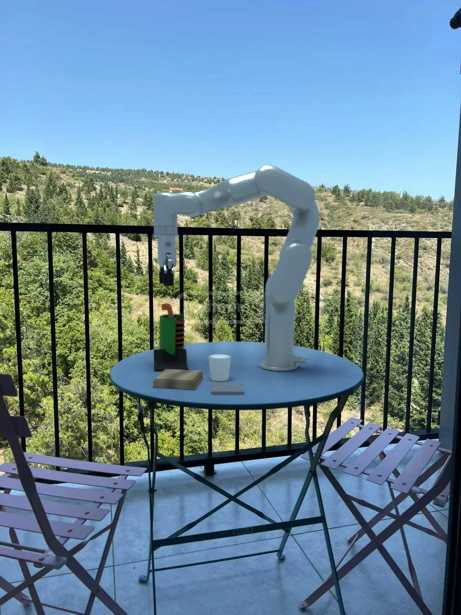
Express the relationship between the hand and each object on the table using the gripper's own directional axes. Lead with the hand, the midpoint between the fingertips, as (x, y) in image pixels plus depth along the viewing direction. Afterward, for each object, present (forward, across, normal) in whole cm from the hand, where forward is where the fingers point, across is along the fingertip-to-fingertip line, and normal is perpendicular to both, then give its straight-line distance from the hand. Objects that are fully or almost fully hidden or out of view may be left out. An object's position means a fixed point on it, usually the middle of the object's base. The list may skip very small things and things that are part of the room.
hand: (166, 284), depth 169 cm
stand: (+27, -22, 0) cm, 35 cm away
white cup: (+27, -20, -13) cm, 36 cm away
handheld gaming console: (+28, -4, -1) cm, 28 cm away
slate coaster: (+27, -32, -12) cm, 43 cm away
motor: (+27, +4, -2) cm, 28 cm away
